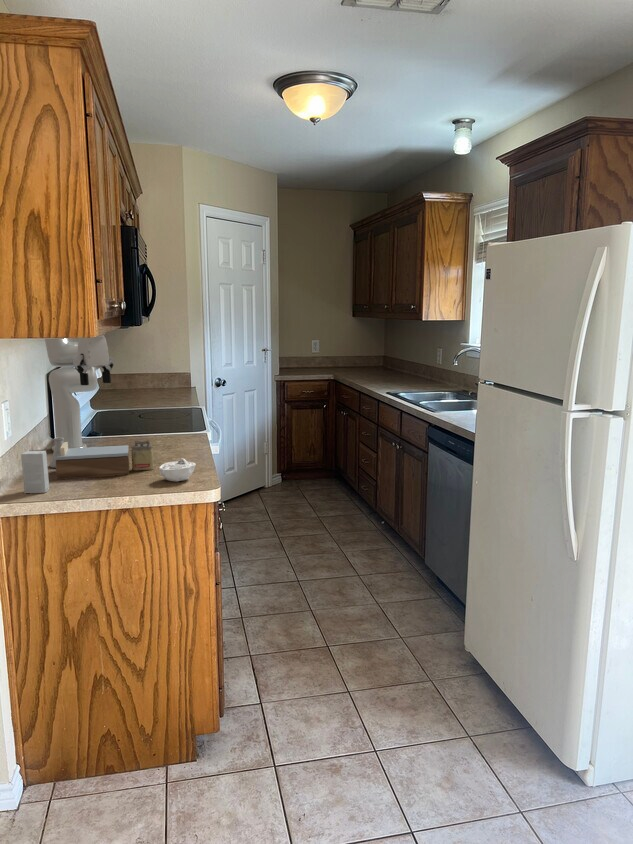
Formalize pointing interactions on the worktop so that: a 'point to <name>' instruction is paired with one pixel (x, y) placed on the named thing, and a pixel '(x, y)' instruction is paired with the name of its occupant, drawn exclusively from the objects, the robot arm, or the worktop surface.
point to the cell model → (177, 470)
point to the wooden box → (92, 467)
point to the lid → (91, 452)
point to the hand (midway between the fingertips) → (96, 384)
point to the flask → (56, 451)
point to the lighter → (142, 456)
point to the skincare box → (35, 472)
